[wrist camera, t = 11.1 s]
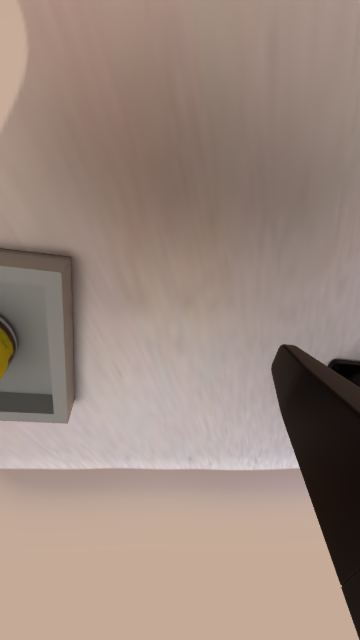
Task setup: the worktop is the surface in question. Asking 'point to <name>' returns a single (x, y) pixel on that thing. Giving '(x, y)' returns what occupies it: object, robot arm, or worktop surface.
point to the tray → (37, 337)
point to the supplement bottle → (6, 346)
